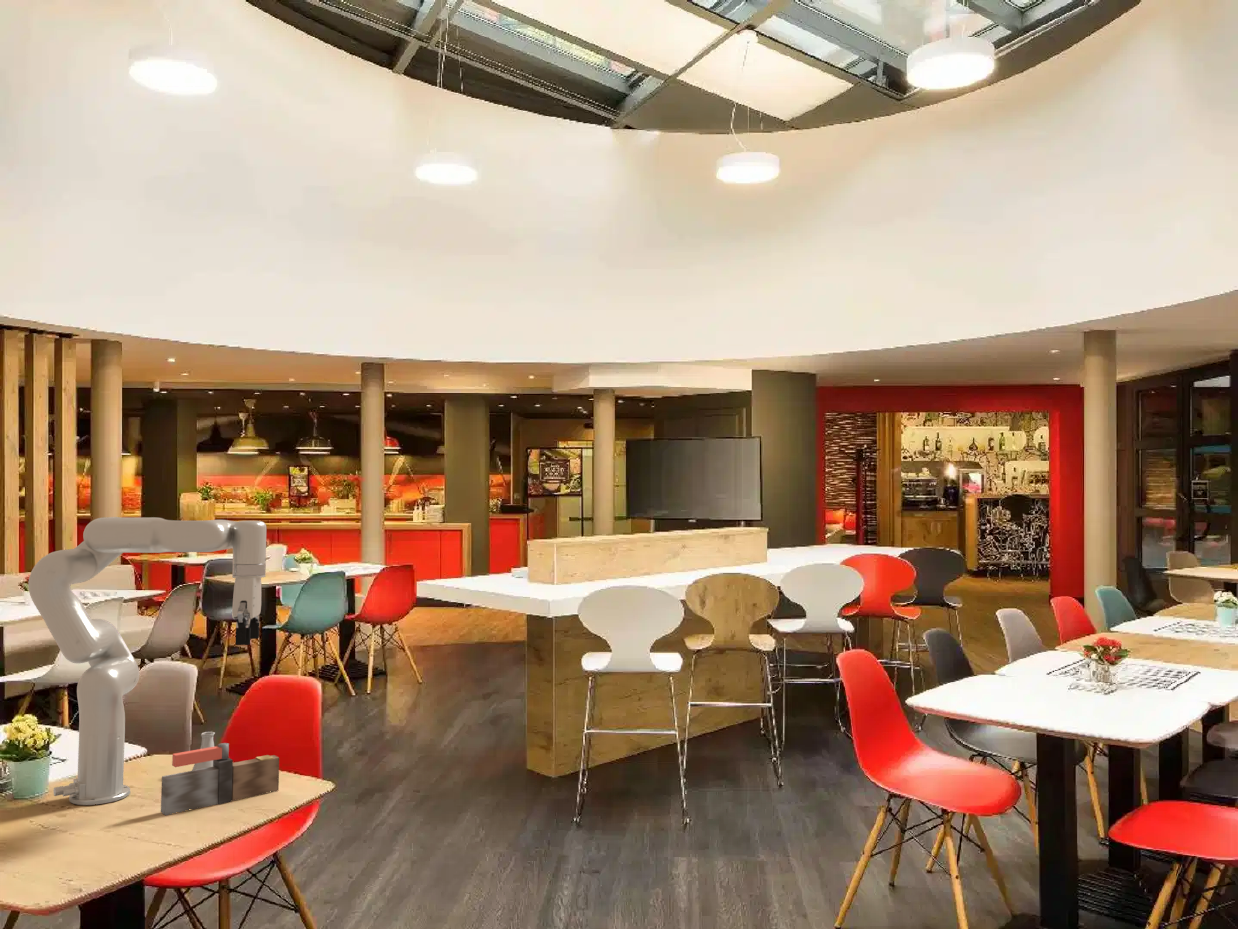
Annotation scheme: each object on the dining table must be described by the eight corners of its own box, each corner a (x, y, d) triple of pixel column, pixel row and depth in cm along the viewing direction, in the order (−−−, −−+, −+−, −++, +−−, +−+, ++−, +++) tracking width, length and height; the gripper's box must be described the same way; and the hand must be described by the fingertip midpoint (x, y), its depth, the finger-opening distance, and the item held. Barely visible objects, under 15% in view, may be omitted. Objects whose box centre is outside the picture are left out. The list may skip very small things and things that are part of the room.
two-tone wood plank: (166, 816, 204) (167, 772, 205) (160, 811, 207) (161, 768, 208) (279, 791, 222) (280, 751, 223) (272, 787, 225) (273, 747, 226)
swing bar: (226, 756, 217) (226, 742, 217) (230, 758, 215) (230, 744, 215) (171, 766, 208) (172, 752, 209) (175, 768, 207) (176, 754, 207)
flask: (227, 768, 241) (228, 730, 241) (212, 776, 234) (213, 737, 234) (201, 767, 242) (202, 729, 242) (185, 775, 234) (186, 736, 235)
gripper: (241, 568, 231) (239, 636, 230) (223, 574, 214) (222, 647, 213) (272, 568, 232) (270, 636, 232) (257, 574, 215) (255, 647, 215)
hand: (247, 641), depth 223 cm, fingers open, 9 cm apart
